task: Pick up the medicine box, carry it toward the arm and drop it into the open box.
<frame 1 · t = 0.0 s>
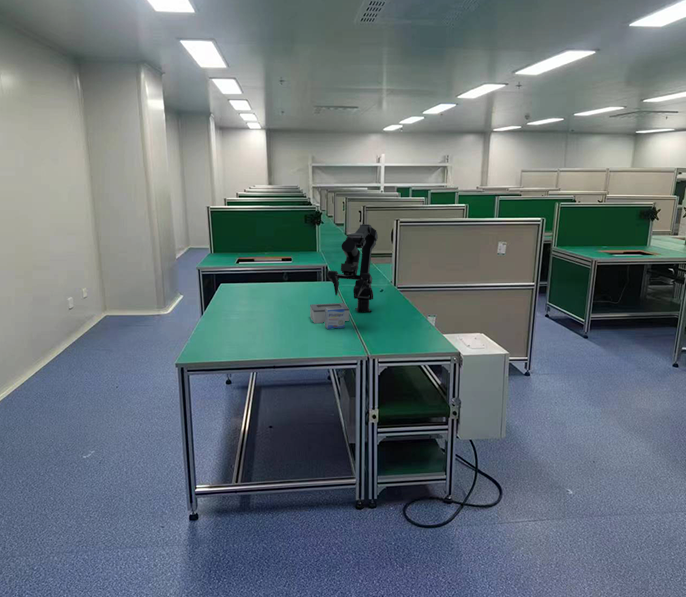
hand: (346, 296, 202), 15 cm above the workbench, tool tilted 35°, fingers open, 9 cm apart
open box: (329, 319, 220), on the workbench
medicine box: (334, 327, 209), on the workbench
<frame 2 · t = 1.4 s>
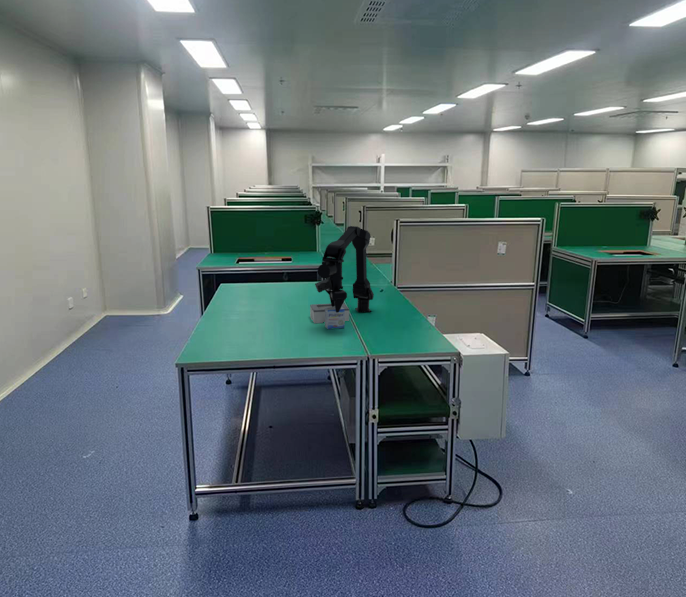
hand: (335, 309, 207), 8 cm above the workbench, tool pointing down, fingers open, 9 cm apart
nothing on the workbench moved.
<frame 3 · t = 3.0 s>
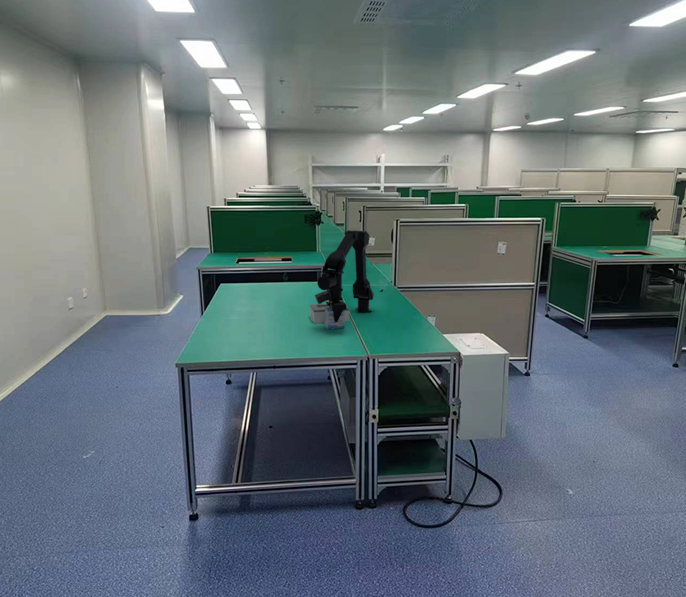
hand: (334, 320, 208), 3 cm above the workbench, tool pointing down, fingers closed on medicine box, 4 cm apart
medicine box: (334, 327, 209), on the workbench, touching gripper
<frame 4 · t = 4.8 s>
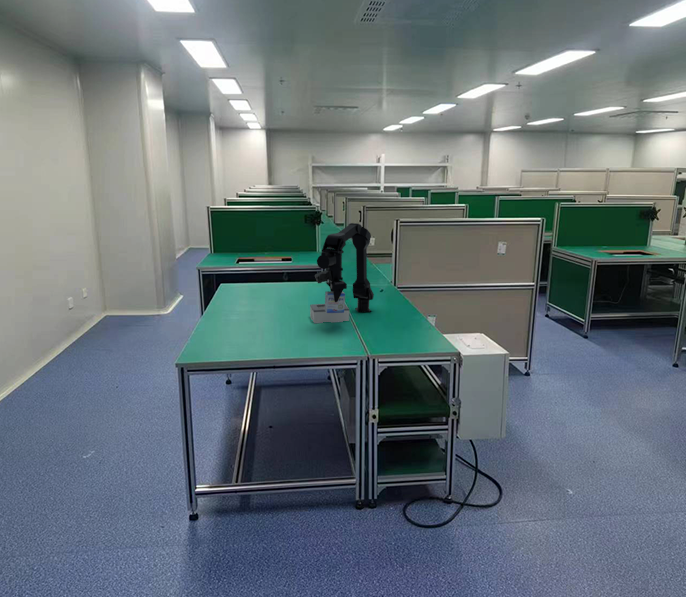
hand: (334, 300, 206), 12 cm above the workbench, tool pointing down, fingers closed on medicine box, 4 cm apart
medicine box: (334, 312, 208), point 7 cm above the workbench, touching gripper
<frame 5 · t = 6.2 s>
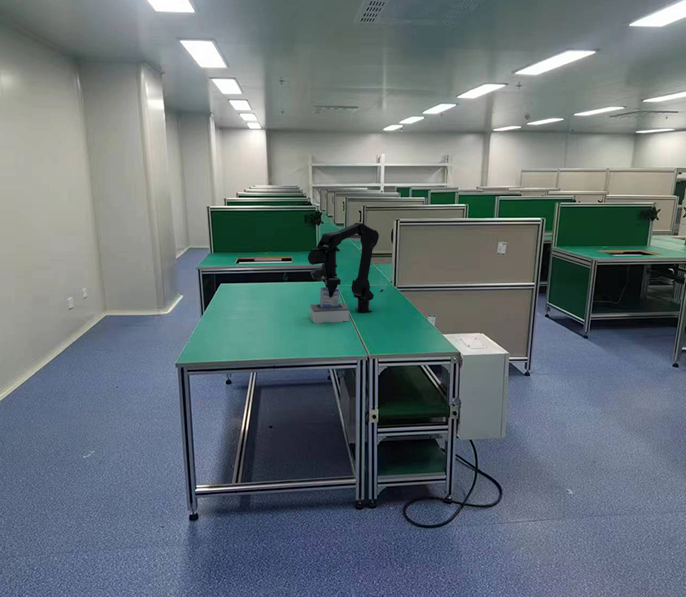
hand: (329, 296, 217), 11 cm above the workbench, tool pointing down, fingers closed on medicine box, 4 cm apart
medicine box: (329, 307, 219), point 6 cm above the workbench, touching gripper
when the fingers open (11 cm above the workbench, at t = 7.1 s): medicine box drops 5 cm, resting on open box.
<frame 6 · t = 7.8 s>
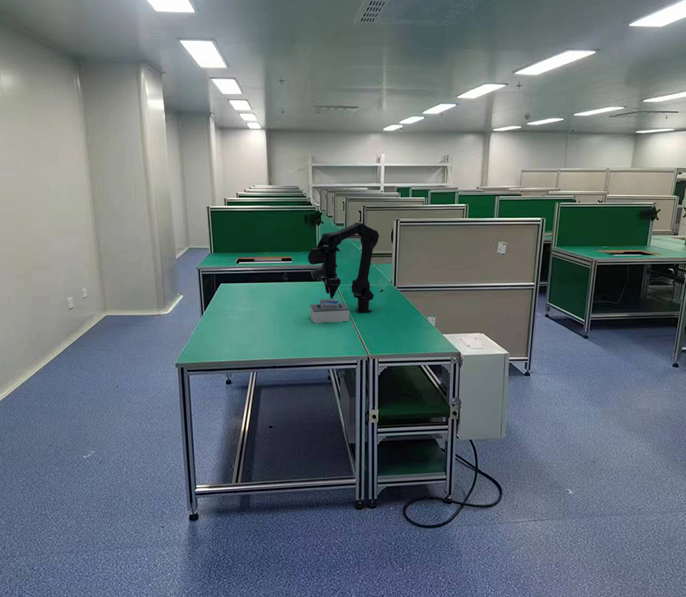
hand: (329, 295, 217), 11 cm above the workbench, tool pointing down, fingers open, 9 cm apart
medicine box: (329, 318, 219), resting on open box
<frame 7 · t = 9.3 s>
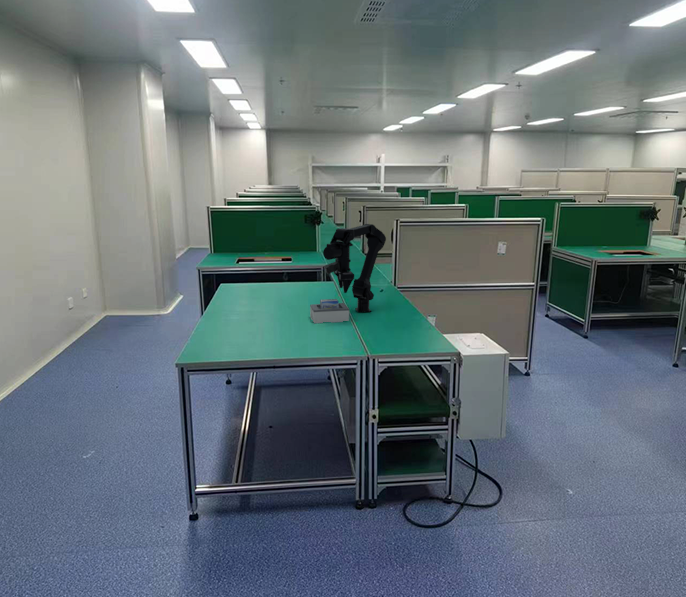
hand: (343, 290, 220), 13 cm above the workbench, tool pointing down, fingers open, 9 cm apart
nothing on the workbench moved.
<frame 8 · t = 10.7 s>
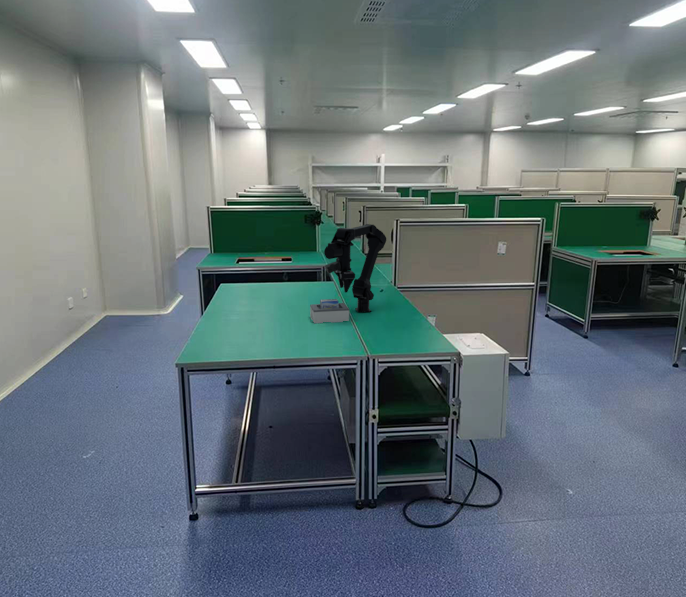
hand: (343, 290, 220), 13 cm above the workbench, tool pointing down, fingers open, 9 cm apart
nothing on the workbench moved.
at the end: medicine box inside the target area on the open box (0.6 cm from its centre), point 0.4 cm above the open box's base; the gripper is holding nothing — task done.
